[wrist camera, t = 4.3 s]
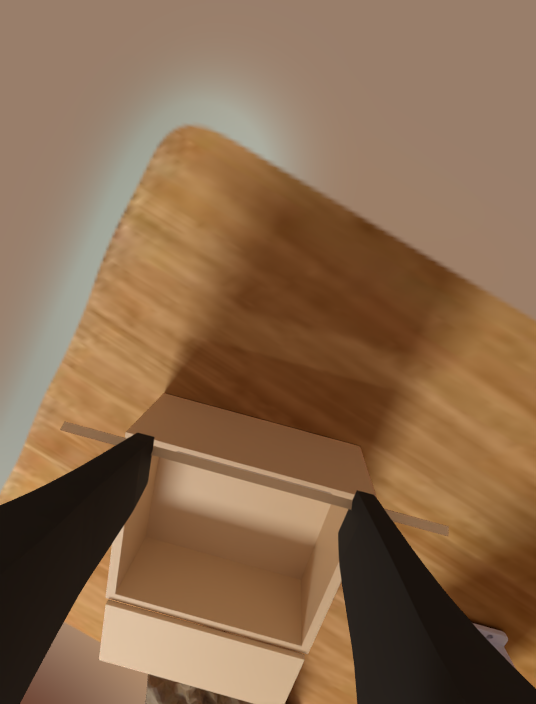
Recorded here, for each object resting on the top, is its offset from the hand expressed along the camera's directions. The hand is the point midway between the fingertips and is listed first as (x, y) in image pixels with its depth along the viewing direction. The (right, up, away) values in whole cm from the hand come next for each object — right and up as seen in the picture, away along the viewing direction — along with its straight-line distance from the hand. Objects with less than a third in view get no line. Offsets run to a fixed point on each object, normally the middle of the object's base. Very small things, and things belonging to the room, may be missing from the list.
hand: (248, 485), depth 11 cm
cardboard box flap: (0, -1, +2) cm, 3 cm away
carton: (-2, -9, +14) cm, 16 cm away
